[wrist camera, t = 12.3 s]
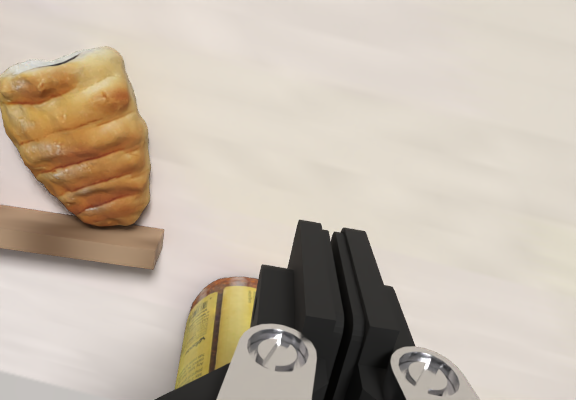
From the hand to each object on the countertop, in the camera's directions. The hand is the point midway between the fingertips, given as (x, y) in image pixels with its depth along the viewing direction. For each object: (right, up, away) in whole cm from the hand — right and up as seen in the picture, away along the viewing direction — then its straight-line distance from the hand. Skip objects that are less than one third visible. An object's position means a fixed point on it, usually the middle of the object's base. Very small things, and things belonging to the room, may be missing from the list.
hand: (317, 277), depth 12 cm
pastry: (-11, +6, +14) cm, 19 cm away
